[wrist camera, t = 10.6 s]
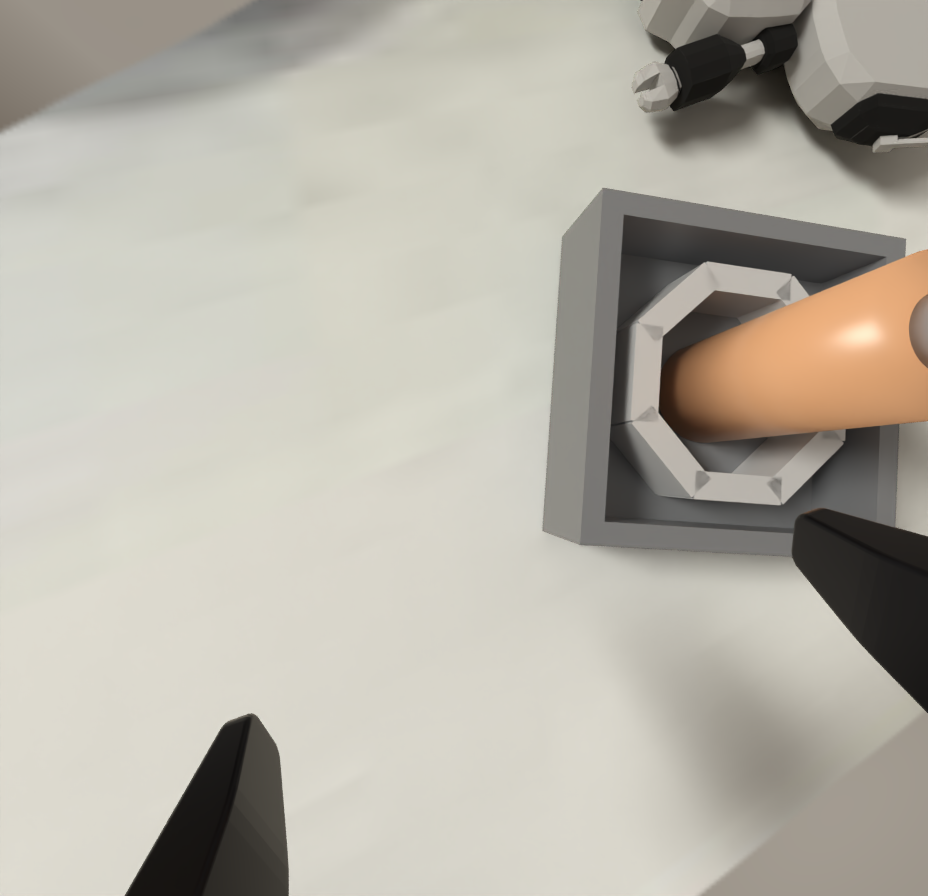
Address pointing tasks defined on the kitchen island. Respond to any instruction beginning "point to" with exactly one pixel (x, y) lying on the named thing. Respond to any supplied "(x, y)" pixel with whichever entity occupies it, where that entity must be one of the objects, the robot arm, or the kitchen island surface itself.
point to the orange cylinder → (810, 363)
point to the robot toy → (800, 60)
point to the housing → (654, 341)
